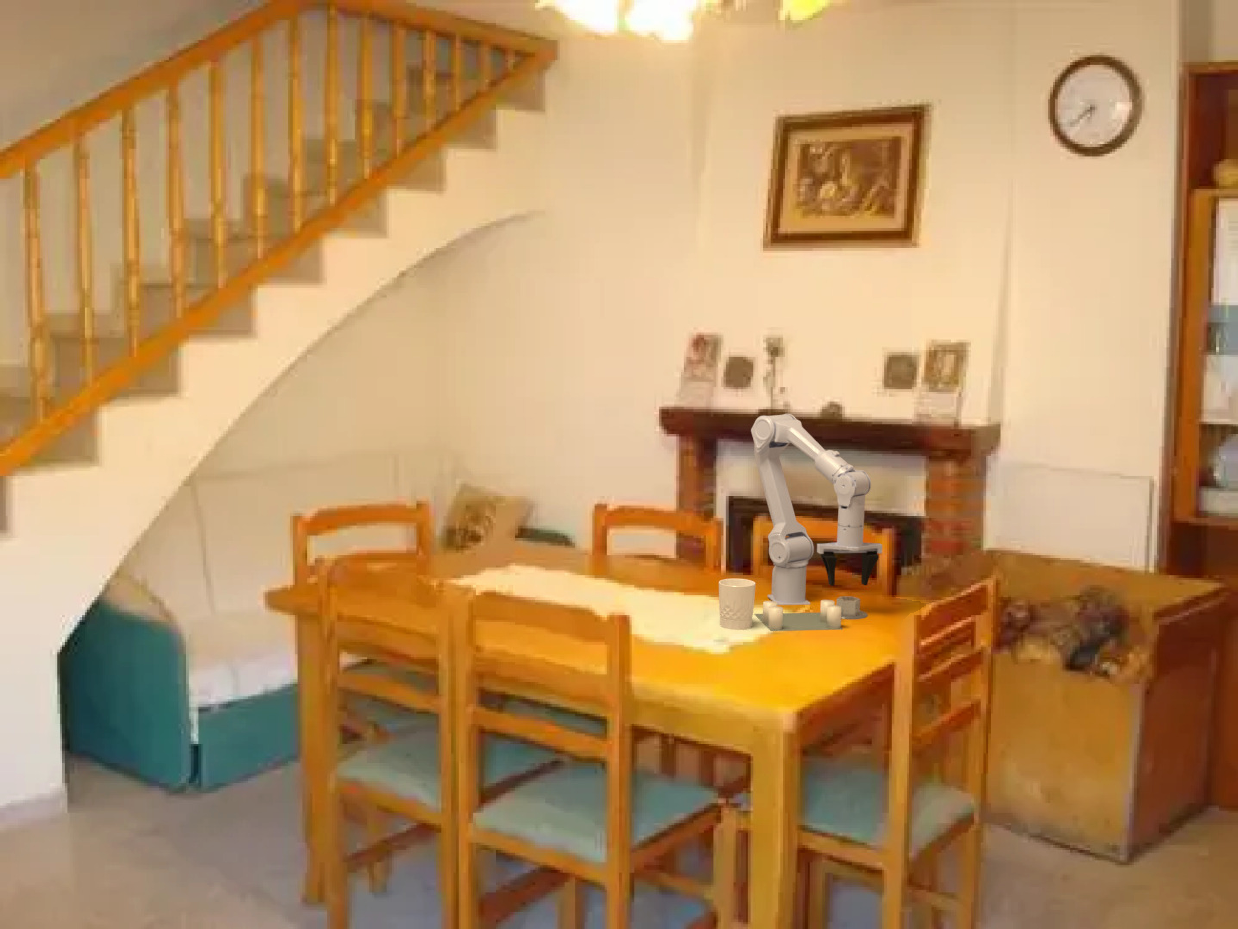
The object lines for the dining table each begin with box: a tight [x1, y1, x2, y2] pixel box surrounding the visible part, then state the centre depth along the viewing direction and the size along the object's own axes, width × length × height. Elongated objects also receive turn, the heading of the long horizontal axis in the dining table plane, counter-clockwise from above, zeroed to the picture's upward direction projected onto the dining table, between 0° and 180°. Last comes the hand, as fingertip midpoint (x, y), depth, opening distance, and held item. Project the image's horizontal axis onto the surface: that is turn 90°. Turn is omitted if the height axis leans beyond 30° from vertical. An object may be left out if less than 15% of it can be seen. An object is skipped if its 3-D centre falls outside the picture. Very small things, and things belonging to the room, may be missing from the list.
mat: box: [753, 612, 844, 632], centre depth 310 cm, size 15×16×1 cm
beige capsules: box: [762, 599, 842, 630], centre depth 307 cm, size 8×16×4 cm, turn 98°
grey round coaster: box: [841, 610, 868, 620], centre depth 317 cm, size 9×9×1 cm
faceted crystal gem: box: [836, 595, 861, 616], centre depth 317 cm, size 5×4×4 cm
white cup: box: [718, 578, 756, 631], centre depth 305 cm, size 8×8×10 cm
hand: (847, 584), depth 317 cm, fingers open, 7 cm apart
